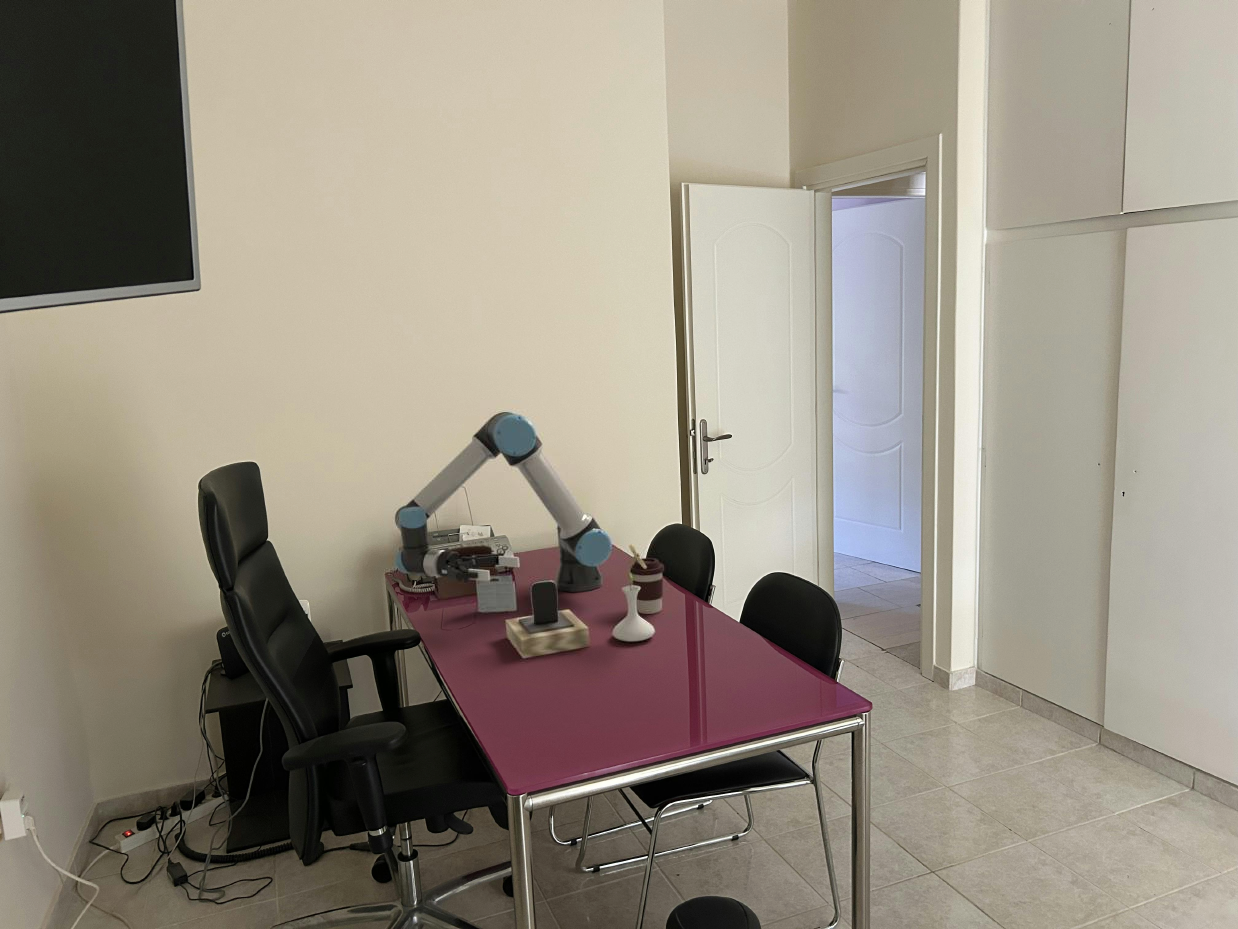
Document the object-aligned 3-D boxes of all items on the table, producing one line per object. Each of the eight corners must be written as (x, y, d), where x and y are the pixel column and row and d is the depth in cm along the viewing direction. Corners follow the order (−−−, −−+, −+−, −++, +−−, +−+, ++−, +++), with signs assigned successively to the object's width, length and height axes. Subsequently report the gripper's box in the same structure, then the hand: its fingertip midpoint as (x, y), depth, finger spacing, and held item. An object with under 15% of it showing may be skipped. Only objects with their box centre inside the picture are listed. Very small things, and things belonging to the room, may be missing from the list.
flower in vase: (651, 645, 237) (646, 552, 233) (608, 645, 239) (602, 552, 235) (659, 629, 249) (654, 540, 246) (618, 628, 252) (613, 540, 248)
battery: (557, 618, 246) (554, 577, 244) (559, 622, 242) (556, 580, 241) (531, 621, 244) (528, 580, 243) (533, 625, 241) (530, 583, 239)
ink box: (517, 609, 275) (514, 572, 273) (515, 612, 272) (512, 574, 270) (479, 610, 276) (476, 573, 274) (477, 613, 273) (474, 575, 272)
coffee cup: (627, 614, 263) (624, 564, 261) (639, 604, 272) (636, 555, 270) (659, 617, 259) (657, 566, 257) (670, 606, 268) (668, 557, 266)
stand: (569, 626, 256) (568, 607, 255) (589, 646, 239) (588, 625, 238) (506, 637, 250) (505, 617, 249) (523, 658, 233) (521, 637, 232)
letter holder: (434, 592, 299) (430, 550, 297) (494, 583, 305) (491, 542, 303) (439, 600, 289) (435, 557, 287) (500, 591, 296) (497, 548, 293)
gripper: (472, 564, 270) (531, 569, 260) (415, 589, 249) (477, 595, 239) (469, 540, 269) (528, 544, 259) (412, 562, 248) (474, 567, 237)
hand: (504, 568), depth 249 cm, fingers open, 13 cm apart
